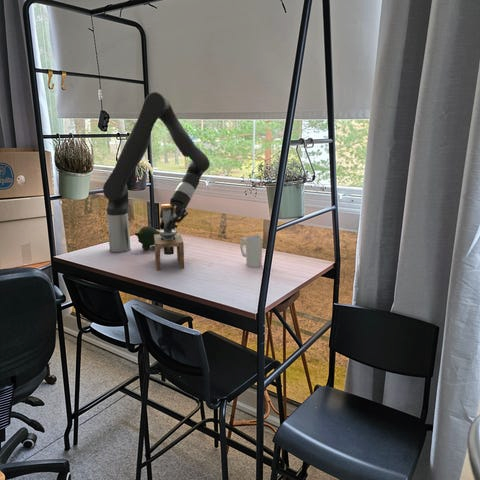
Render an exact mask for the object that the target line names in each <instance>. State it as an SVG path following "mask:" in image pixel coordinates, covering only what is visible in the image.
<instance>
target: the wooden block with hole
mask: <svg viewBox="0 0 480 480" xmlns="http://www.w3.org/2000/svg"><path fill="white" fill-rule="evenodd" d="M154 242H155V245H154V253H155V254H154V255H155V258H154V259H155V266H156V271H162V266H161V263H162V262H161V248H162V249H164V247H174V248H176V259H177V262H178V264H179V269H185V249H184V247H185V246H184V241H183V238H182V236H181V233H180V232H177V233H176V235H175V236H173V240H163V237H162V236H160V234H155V235H154Z"/></svg>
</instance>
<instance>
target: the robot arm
mask: <svg viewBox="0 0 480 480" xmlns="http://www.w3.org/2000/svg"><path fill="white" fill-rule="evenodd" d="M158 118H159V120H160V121H161V122H162V123H163V124H164V126H165V127H166V129H167V130H168V133H169V135H170V137H171V139H172V141H173V143H174V144H175V145H176V147H177V149H178V151H180V153H181V154H182V156H183V157H185V158H189V159H190V160H191V163H190V164H189V165H188V168H187V170H186V171H185V174H184V176H183V177H182V179H181V181H180V183H179V184H178V186H177V187H176V188H175V190H174V192H173V194H172V195H171V198H170V200H169V201H170V203H169V204H172V208H171V221H169V223H168V225H167V226H166V229H167V230H168V231H170V230H171V229H172V227H173V225H174V224H175V225H176V224H177V223H178V224H180V223H181V222H182V221H183V220H184V219H185V218H186V217H187V216H188V214H189V211H188V210H186V209H187V207H188V206H189V204H190V202H191V201H192V198H193V196H194V194H195V192H196V190H197V188H198V185H199V183H200V179H201V178H202V176H203V174H204V173H205V172H206V171H207V170H208V169H209V168H210V165H211V164H210V160H209V158H208V156H207V155H206V154H205V153H204V152H203V151H202V150H201V149H200V148H199V147H198V146H197V145H196V144H195V142H194V141H193V139H192V137H191V136H190V134H188V132H187V131H186V129H185V128H184V127H183V125H182V124H181V122H180V120H179V119H178V117H177V115H176V113H175V111H174V110H173V108H172V104H171V103H170V101H169V99H168V97H167V96H166V95H164V94H162V93H161V92H158V91H154V92H153V91H152V92H150V93H149V94H147V96H146V97H145V98H144V101H143V104H142V107H141V110H140V113H139V115H138V117H137V120H136V122H135V123H134V124H133V127H132V129H131V132H130V133H129V135H128V137H127V139H126V141H125V143H124V145H123V147H122V149H121V152H120V153H119V156H118V159H117V162H116V164H115V166H114V167H113V170H112V171H111V174H110V175H109V177H108V178H107V179H106V181H105V182H104V185H103V187H102V192H103V195H104V197H105V198H106V199H107V200H108V203H107V208H106V213H107V214H106V216H107V225H108V226H107V228H108V245H109V253H111V252H113V253H118V252H119V253H122V252H123V253H124V252H128V251H130V250H131V236H130V225H129V224H130V223H129V204H130V203H129V189H128V185H127V183H128V180H129V178H130V176H131V174H132V173H133V172H134V171H135V169H136V167H138V166H139V164H140V163H141V161H142V159H143V158H144V156H145V154H146V152H147V150H148V147H149V144H150V141H151V135H152V130H153V129H154V126H155V123H156V122H157V120H158ZM159 218H160V219H161V220H160V221H161V222H160V223H159V224H158V228H159V229H160V230H164V227H163V208H161V207H160V213H159Z"/></svg>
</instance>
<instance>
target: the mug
mask: <svg viewBox="0 0 480 480" xmlns="http://www.w3.org/2000/svg"><path fill="white" fill-rule="evenodd" d="M244 243H245V249H244ZM239 245H240V252H241V255H242V257H243V258H246V259H245V262H246V266H247V267H249V268H258V267H261V266H262V262H263V261H262V260H263V259H262V258H263V255H262V254H263V236H262V235H258V234H250V235H249V234H248V235H247V236H245V237H242V239H241V241H240V243H239Z"/></svg>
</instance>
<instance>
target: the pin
mask: <svg viewBox="0 0 480 480" xmlns="http://www.w3.org/2000/svg"><path fill="white" fill-rule="evenodd" d="M161 208H163V227H164V229H160V230H159V232H160V236H162V237H163V240H173V236H175V235H176V232H177V230H176V229H175V230H172V229H171V230H170V231H168V230H167V229H166V226H167V225H168V223H169V221H171V208H172V204H170V203H164V204H160V209H161ZM174 249H175V247H163V254H164V255H167V256H168V255H169V256H170V255H174V254H175V253H174V251H175V250H174Z"/></svg>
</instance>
